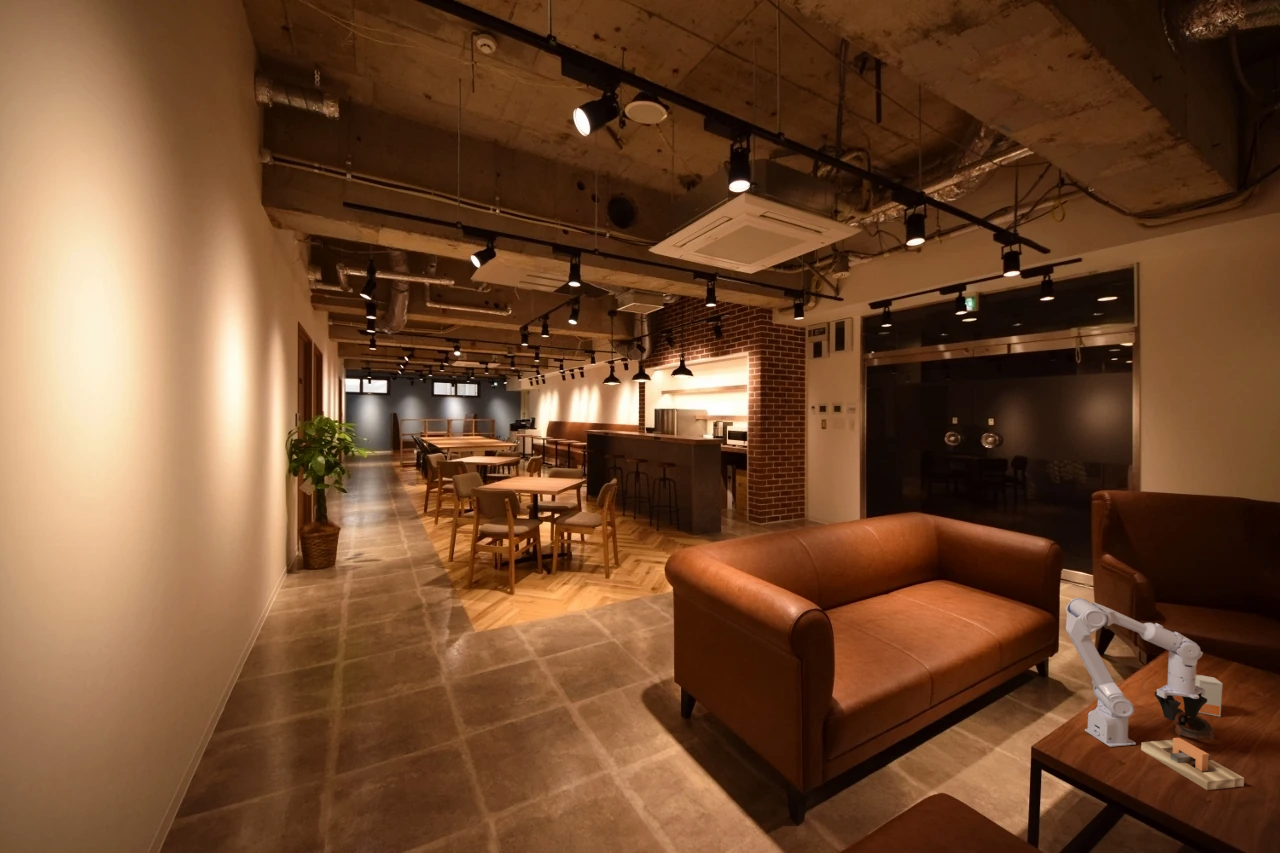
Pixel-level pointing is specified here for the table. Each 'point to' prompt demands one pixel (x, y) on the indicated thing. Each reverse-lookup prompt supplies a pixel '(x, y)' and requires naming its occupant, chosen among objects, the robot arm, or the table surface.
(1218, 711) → the skincare box
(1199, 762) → the orange hook block
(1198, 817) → the table surface
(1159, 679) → the table surface
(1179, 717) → the pottery mug
